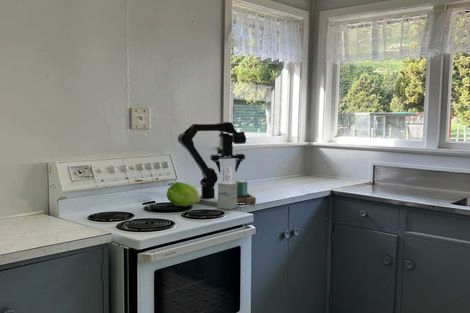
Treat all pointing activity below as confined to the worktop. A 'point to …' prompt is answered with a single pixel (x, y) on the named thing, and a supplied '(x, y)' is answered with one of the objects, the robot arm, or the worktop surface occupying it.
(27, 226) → the worktop surface
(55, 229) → the worktop surface
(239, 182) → the tea tin
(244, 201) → the box
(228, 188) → the grey stone cylinder
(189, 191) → the green oval fruit
